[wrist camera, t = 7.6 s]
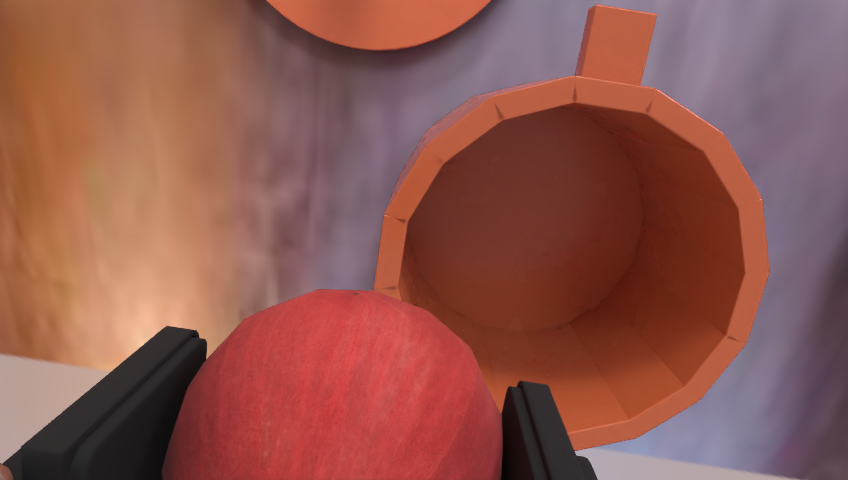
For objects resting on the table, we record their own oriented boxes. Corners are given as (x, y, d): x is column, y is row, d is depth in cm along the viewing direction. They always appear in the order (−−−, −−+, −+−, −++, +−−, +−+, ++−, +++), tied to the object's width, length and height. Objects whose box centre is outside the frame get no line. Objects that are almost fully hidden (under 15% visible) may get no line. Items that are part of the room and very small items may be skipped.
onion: (431, 491, 14) (427, 937, 7) (221, 417, 14) (-40, 802, 6) (520, 296, 13) (644, 574, 5) (291, 209, 13) (67, 374, 5)
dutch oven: (373, 359, 36) (347, 475, 25) (421, 17, 31) (417, -30, 20) (610, 393, 37) (689, 522, 26) (697, 61, 32) (845, 40, 20)
